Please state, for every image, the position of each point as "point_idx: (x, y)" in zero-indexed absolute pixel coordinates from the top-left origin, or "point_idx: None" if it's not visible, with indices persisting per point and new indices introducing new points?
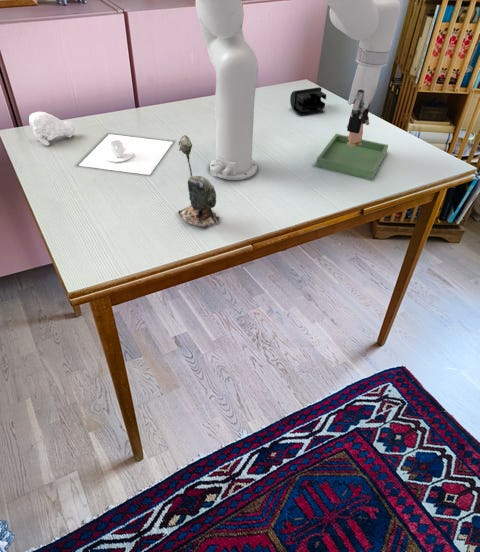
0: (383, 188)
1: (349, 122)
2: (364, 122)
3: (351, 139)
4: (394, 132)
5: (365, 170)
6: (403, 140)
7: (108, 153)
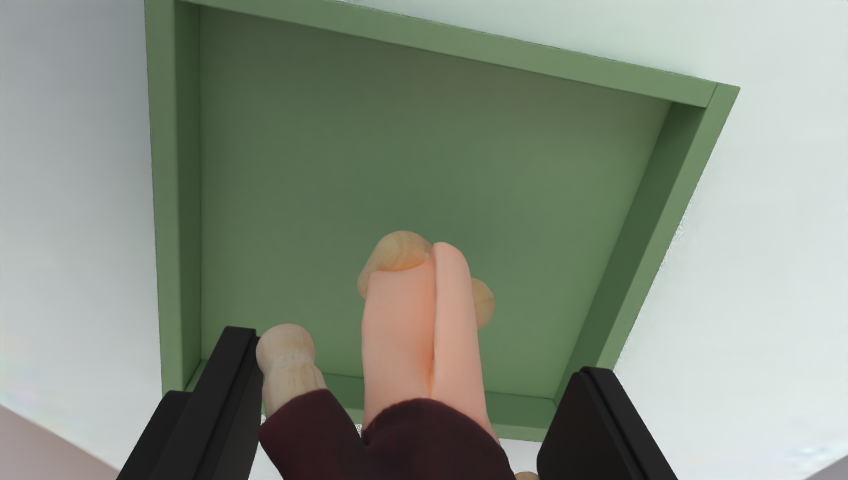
0: (123, 418)
1: (182, 424)
2: (542, 470)
3: (366, 297)
4: (841, 425)
5: (161, 357)
6: (733, 466)
7: None
